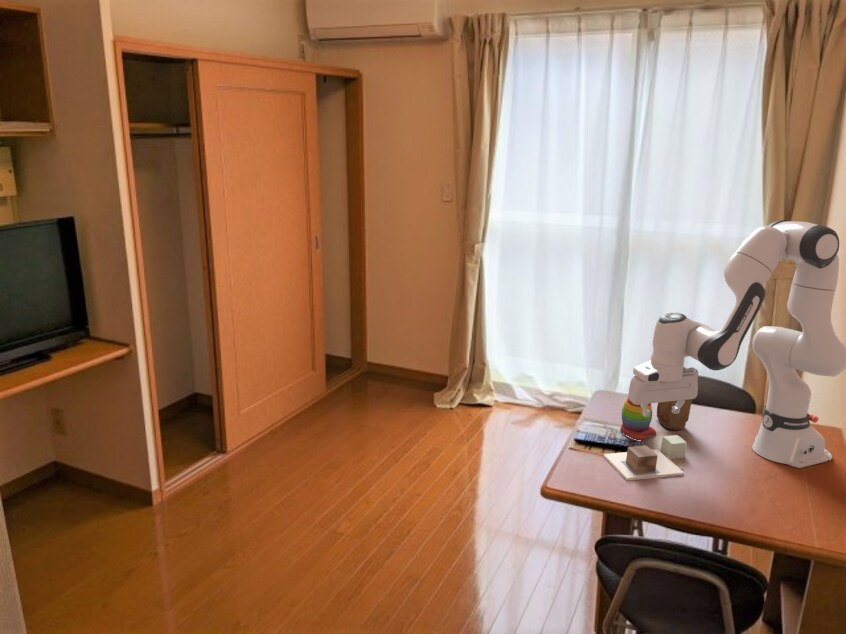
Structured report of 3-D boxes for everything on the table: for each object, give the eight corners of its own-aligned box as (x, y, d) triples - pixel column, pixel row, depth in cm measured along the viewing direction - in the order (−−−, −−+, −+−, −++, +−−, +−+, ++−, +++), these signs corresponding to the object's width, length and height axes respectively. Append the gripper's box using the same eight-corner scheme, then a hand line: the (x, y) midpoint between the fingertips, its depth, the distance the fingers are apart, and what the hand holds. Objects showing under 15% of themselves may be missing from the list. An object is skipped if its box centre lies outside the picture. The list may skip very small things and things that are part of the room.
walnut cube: (644, 460, 196) (646, 445, 195) (655, 471, 191) (657, 455, 189) (625, 462, 195) (627, 447, 193) (636, 472, 189) (638, 457, 188)
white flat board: (657, 451, 204) (657, 449, 203) (683, 475, 191) (684, 472, 190) (603, 456, 200) (603, 453, 200) (626, 480, 187) (626, 477, 186)
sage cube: (675, 449, 206) (677, 435, 204) (684, 457, 201) (687, 442, 199) (660, 450, 204) (662, 436, 203) (669, 458, 200) (672, 443, 198)
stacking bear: (639, 443, 209) (646, 390, 204) (612, 431, 216) (618, 380, 211) (658, 434, 215) (665, 383, 210) (631, 422, 223) (638, 373, 218)
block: (689, 430, 218) (698, 373, 213) (668, 432, 217) (676, 374, 211) (671, 416, 229) (679, 362, 223) (651, 417, 227) (659, 362, 221)
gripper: (692, 362, 193) (686, 406, 197) (628, 368, 188) (623, 413, 193) (705, 371, 187) (699, 415, 191) (639, 377, 182) (634, 422, 187)
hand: (660, 414), depth 192 cm, fingers open, 8 cm apart
